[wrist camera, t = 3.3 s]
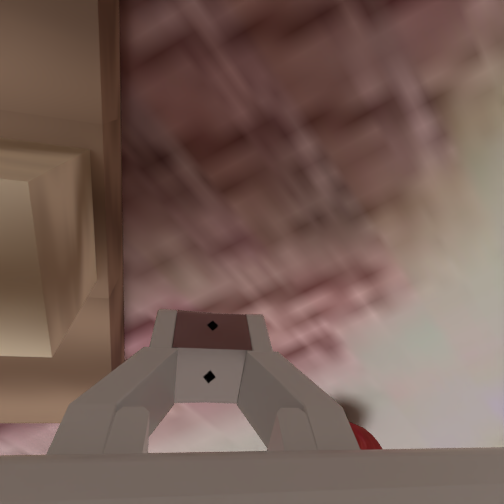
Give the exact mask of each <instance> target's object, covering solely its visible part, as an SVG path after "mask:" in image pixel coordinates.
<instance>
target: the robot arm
mask: <svg viewBox="0 0 504 504" xmlns="http://www.w3.org/2000/svg"><path fill="white" fill-rule="evenodd" d="M195 402H211V403H237V406H238V407H239V408H240V410H241V411H242V413H243V414H244V416H245V417H246V418H247V420H248V421H249V423H250V424H251V426H252V427H253V428H254V430H255V431H256V433H257V434H258V435H259V437H260V438H261V440H262V441H263V443H264V444H265V445H266V447H267V448H268V449H267V451H245V452H186V453H148V439H149V436H150V435H151V434H152V432H153V431H154V430H155V429H156V427H157V426H158V425H159V423H160V422H161V421H162V419H163V418H164V417H165V416H166V414H167V413H168V412H169V410H170V409H171V408H172V406H173V405H174V403H195ZM0 504H504V447H491V448H430V449H375V450H361V449H360V447H359V445H358V442H357V440H356V438H355V435H354V433H353V431H352V428H351V426H350V424H349V421H348V419H347V417H346V414H345V412H344V410H343V407H342V406H341V405H339V404H338V403H337V402H336V401H335V400H334V399H332V398H331V397H330V396H329V395H328V394H326V393H325V392H324V391H323V390H322V389H321V388H319V387H318V386H317V385H316V384H315V383H314V382H312V381H311V380H310V379H309V378H308V377H307V376H305V375H304V374H303V373H302V372H301V371H300V370H298V369H297V368H296V367H295V366H294V365H293V364H291V363H290V362H289V361H288V360H287V359H285V358H284V357H283V356H282V355H281V354H280V353H278V352H273V350H272V346H271V343H270V339H269V335H268V331H267V327H266V323H265V319H264V316H263V315H261V314H245V315H244V314H221V313H209V312H196V311H183V310H178V311H177V310H168V309H159V310H158V312H157V317H156V321H155V325H154V329H153V334H152V338H151V342H150V346H149V347H143V348H142V349H141V350H139V351H138V352H137V353H135V354H134V355H133V356H131V357H130V358H129V359H128V360H126V361H125V362H124V363H122V364H121V365H120V366H118V367H117V368H116V369H115V370H113V371H112V372H111V373H109V374H108V375H107V376H105V377H104V378H103V379H102V380H100V381H99V382H98V383H96V384H95V385H94V386H92V387H91V388H90V389H88V390H87V391H86V392H85V393H83V394H82V395H81V396H79V397H78V398H77V399H75V400H74V401H73V402H72V403H70V404H69V406H68V408H67V410H66V412H65V415H64V417H63V419H62V421H61V423H60V426H59V428H58V430H57V432H56V434H55V437H54V439H53V441H52V443H51V445H50V447H49V450H48V452H47V454H46V455H5V456H0Z"/></svg>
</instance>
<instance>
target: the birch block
mask: <svg viewBox="0 0 504 504" xmlns="http://www.w3.org/2000/svg"><path fill="white" fill-rule="evenodd" d="M96 281H97V273H96V255H95V236H94V218H93V199H92V181H91V162H90V149H83V148H76V147H68V146H61V145H53V144H45V143H38V142H30V141H23V140H15V139H7V138H0V356H19V357H53V355H54V353H55V352H56V350H57V348H58V346H59V345H60V343H61V341H62V339H63V338H64V336H65V334H66V333H67V331H68V329H69V327H70V326H71V324H72V322H73V320H74V319H75V317H76V315H77V314H78V312H79V310H80V308H81V307H82V305H83V303H84V301H85V300H86V298H87V296H88V295H89V293H90V291H91V289H92V288H93V286H94V284H95V282H96Z"/></svg>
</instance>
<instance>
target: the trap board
mask: <svg viewBox="0 0 504 504" xmlns="http://www.w3.org/2000/svg"><path fill="white" fill-rule="evenodd" d="M0 138H7V139H15V140H23V141H30V142H38V143H45V144H53V145H61V146H68V147H76V148H83V149H90V162H91V181H92V199H93V218H94V236H95V255H96V273H97V281H96V282H95V284H94V286H93V288H92V289H91V291H90V293H89V295H88V296H87V298H86V300H85V301H84V303H83V305H82V307H81V308H80V310H79V312H78V314H77V315H76V317H75V319H74V320H73V322H72V324H71V326H70V327H69V329H68V331H67V333H66V334H65V336H64V338H63V339H62V341H61V343H60V345H59V346H58V348H57V350H56V352H55V353H54V355H53V357H19V356H0V423H61V421H62V419H63V417H64V415H65V412H66V410H67V408H68V406H69V404H70V403H72V402H73V401H74V400H75V399H77V398H78V397H79V396H81V395H82V394H83V393H85V392H86V391H87V390H88V389H90V388H91V387H92V386H94V385H95V384H96V383H98V382H99V381H100V380H102V379H103V378H104V377H105V376H107V375H108V374H109V373H111V372H112V371H113V370H115V369H116V368H117V367H118V366H120V365H121V364H122V363H124V301H123V233H122V165H121V97H120V29H119V0H0Z"/></svg>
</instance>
